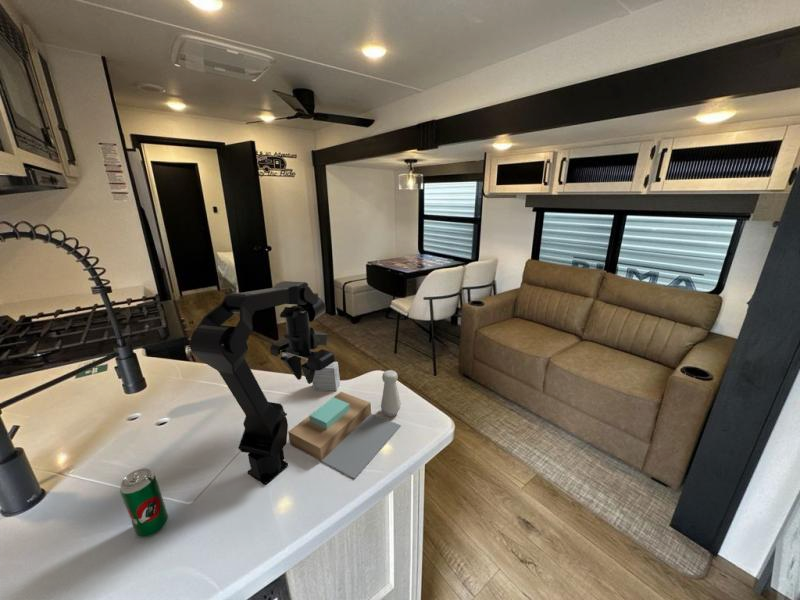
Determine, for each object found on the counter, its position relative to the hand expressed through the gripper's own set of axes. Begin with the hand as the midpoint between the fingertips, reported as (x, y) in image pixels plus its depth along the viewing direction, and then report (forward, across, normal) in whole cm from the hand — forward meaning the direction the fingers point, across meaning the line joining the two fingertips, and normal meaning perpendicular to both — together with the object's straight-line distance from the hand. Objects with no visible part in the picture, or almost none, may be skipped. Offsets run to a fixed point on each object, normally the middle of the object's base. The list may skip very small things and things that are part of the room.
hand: (305, 381), depth 87 cm
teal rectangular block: (+8, -8, 0) cm, 12 cm away
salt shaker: (+12, -19, -14) cm, 26 cm away
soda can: (+12, +2, +38) cm, 40 cm away
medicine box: (+12, +6, -14) cm, 20 cm away
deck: (+12, -9, 0) cm, 15 cm away
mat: (+12, -20, 0) cm, 23 cm away
